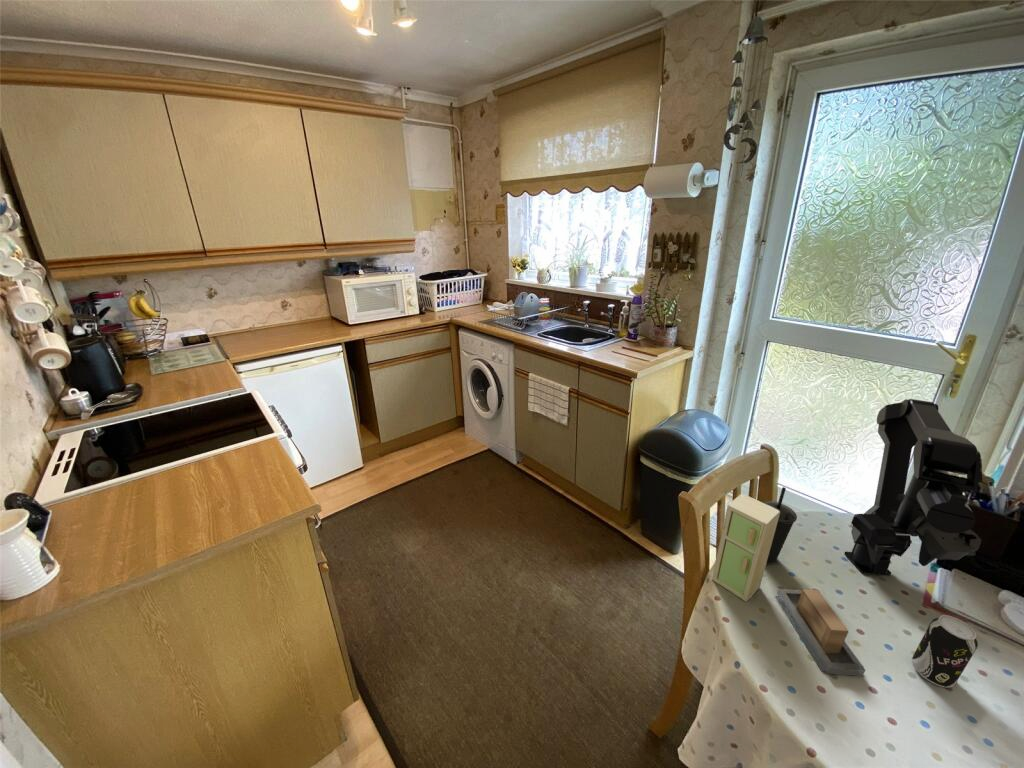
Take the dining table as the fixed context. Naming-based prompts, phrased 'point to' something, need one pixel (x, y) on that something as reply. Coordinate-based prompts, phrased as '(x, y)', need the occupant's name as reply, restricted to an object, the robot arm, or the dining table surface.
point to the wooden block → (822, 621)
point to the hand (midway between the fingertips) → (897, 563)
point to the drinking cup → (780, 526)
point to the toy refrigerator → (745, 545)
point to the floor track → (825, 661)
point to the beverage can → (945, 650)
